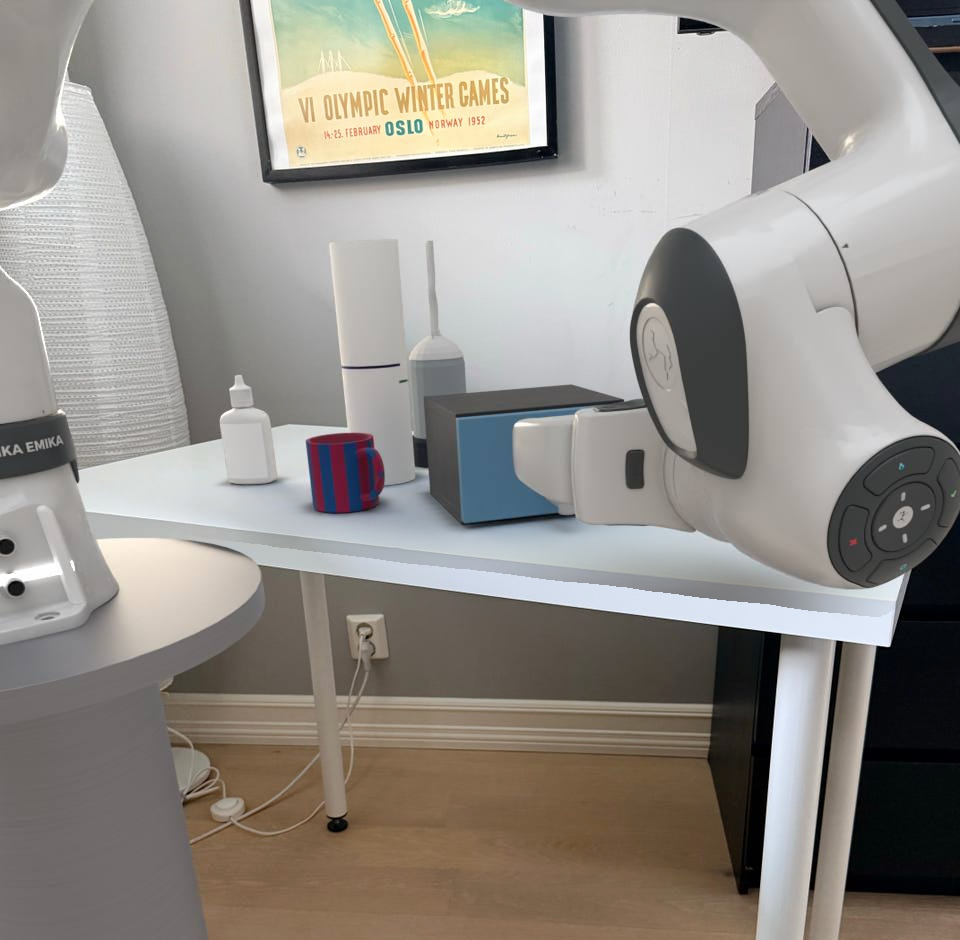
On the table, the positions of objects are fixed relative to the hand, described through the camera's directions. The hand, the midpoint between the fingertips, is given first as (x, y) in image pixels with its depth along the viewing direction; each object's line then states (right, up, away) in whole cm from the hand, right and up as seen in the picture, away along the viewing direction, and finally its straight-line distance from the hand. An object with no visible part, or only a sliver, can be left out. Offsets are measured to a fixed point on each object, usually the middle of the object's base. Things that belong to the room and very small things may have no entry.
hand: (625, 423), depth 66 cm
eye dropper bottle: (-37, +3, +42) cm, 56 cm away
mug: (-23, -2, +27) cm, 36 cm away
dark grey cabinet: (-6, -1, +27) cm, 28 cm away
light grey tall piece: (-15, +6, +48) cm, 51 cm away
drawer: (-5, -2, +23) cm, 23 cm away
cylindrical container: (-21, +3, +40) cm, 45 cm away
